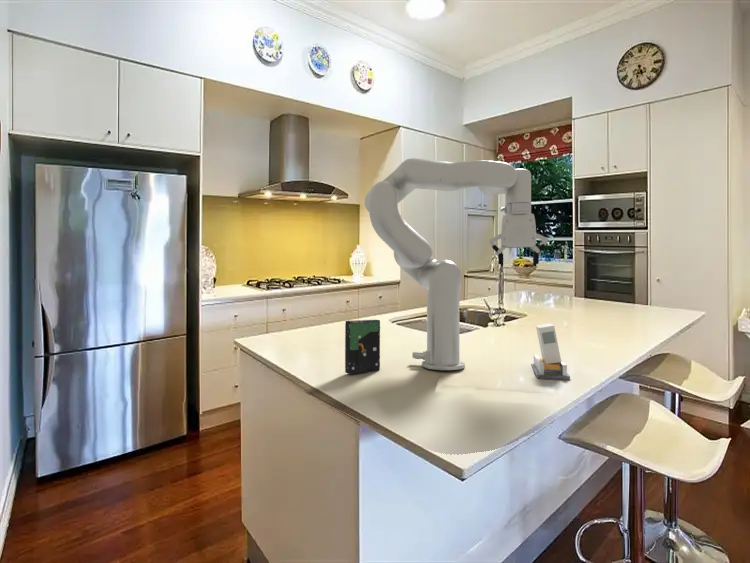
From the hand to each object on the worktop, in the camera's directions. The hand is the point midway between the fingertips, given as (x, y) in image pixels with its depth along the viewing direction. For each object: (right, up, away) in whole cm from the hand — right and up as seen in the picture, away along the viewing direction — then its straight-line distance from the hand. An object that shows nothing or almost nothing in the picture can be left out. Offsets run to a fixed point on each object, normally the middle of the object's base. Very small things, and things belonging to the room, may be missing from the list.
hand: (518, 266), depth 135 cm
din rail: (+5, -30, -11) cm, 33 cm away
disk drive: (-47, -31, -9) cm, 57 cm away
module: (+6, -27, -12) cm, 30 cm away
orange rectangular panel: (+5, -28, -11) cm, 31 cm away
